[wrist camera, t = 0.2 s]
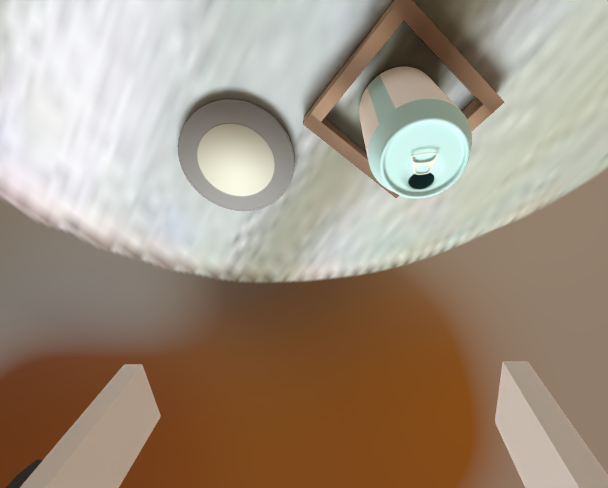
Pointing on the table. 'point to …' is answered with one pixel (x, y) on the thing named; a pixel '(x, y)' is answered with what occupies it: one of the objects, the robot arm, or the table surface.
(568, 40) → the table surface
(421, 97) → the can
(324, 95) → the frame
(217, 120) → the dock pad
